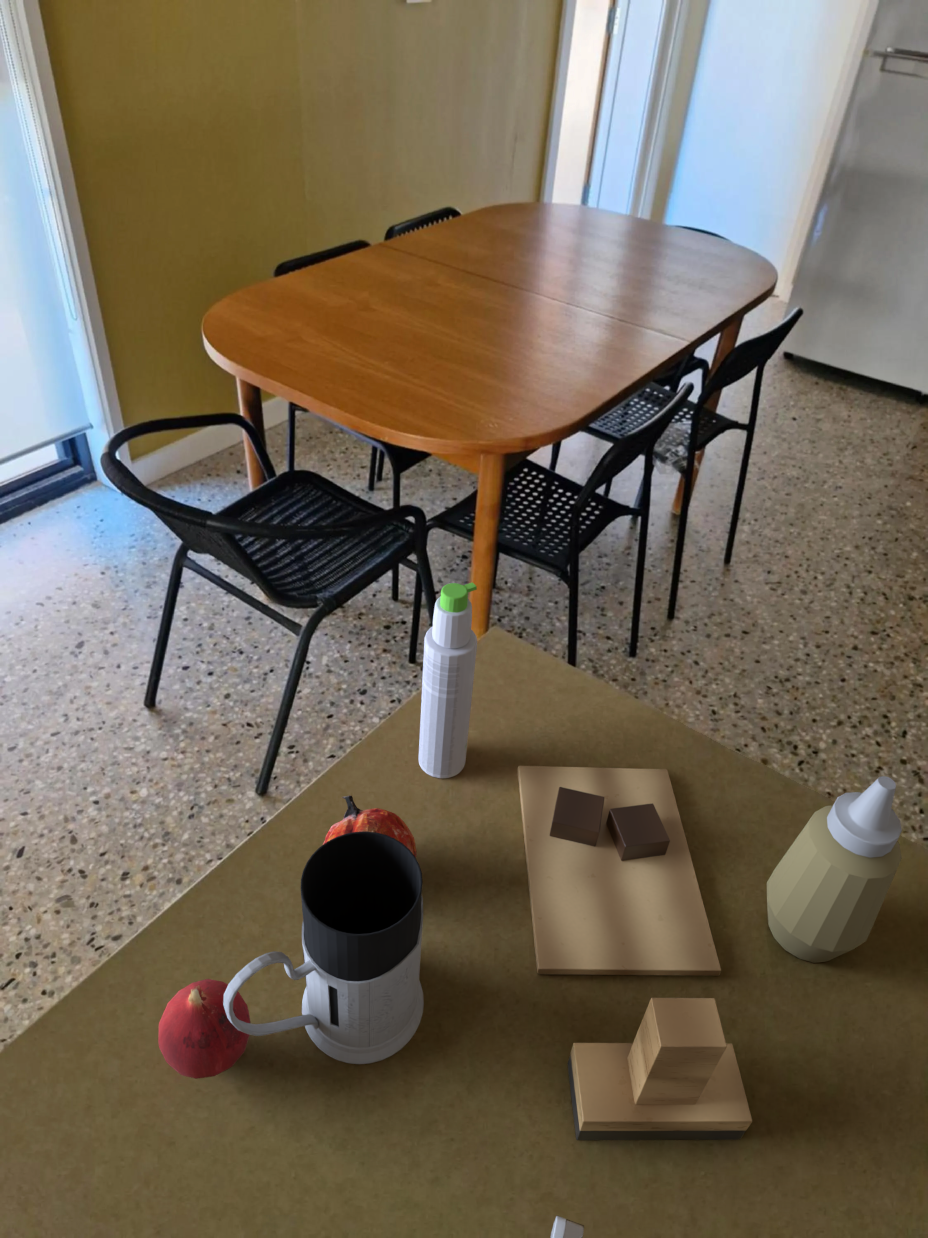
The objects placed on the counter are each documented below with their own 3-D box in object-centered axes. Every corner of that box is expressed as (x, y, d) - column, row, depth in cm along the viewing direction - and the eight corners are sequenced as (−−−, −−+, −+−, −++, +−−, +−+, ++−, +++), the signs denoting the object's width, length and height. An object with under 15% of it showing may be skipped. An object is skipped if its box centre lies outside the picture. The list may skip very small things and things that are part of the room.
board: (665, 774, 83) (667, 769, 83) (719, 976, 68) (721, 971, 67) (517, 771, 82) (518, 765, 82) (537, 974, 67) (538, 969, 66)
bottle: (470, 775, 81) (488, 604, 69) (423, 782, 80) (433, 610, 68) (459, 741, 85) (474, 571, 72) (414, 746, 84) (422, 576, 71)
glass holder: (448, 1010, 64) (461, 890, 55) (278, 1148, 56) (260, 1036, 47) (375, 925, 69) (376, 801, 60) (210, 1042, 61) (180, 921, 52)
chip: (600, 811, 78) (604, 796, 77) (595, 847, 75) (599, 832, 74) (556, 801, 79) (559, 786, 78) (549, 836, 76) (552, 821, 74)
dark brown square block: (648, 817, 78) (653, 803, 77) (665, 855, 75) (670, 840, 74) (605, 823, 77) (609, 808, 76) (621, 861, 74) (625, 846, 73)
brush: (721, 1063, 63) (765, 983, 56) (740, 1140, 59) (790, 1064, 52) (567, 1063, 62) (592, 981, 55) (576, 1141, 58) (604, 1064, 51)
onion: (272, 1041, 62) (263, 982, 57) (214, 1116, 58) (199, 1060, 53) (209, 998, 64) (195, 937, 59) (148, 1068, 60) (128, 1008, 55)
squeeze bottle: (733, 923, 71) (802, 775, 60) (788, 869, 76) (862, 722, 64) (822, 998, 67) (915, 853, 55) (875, 936, 71) (971, 790, 60)
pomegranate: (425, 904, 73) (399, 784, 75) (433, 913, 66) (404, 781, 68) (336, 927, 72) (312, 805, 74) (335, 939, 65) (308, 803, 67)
